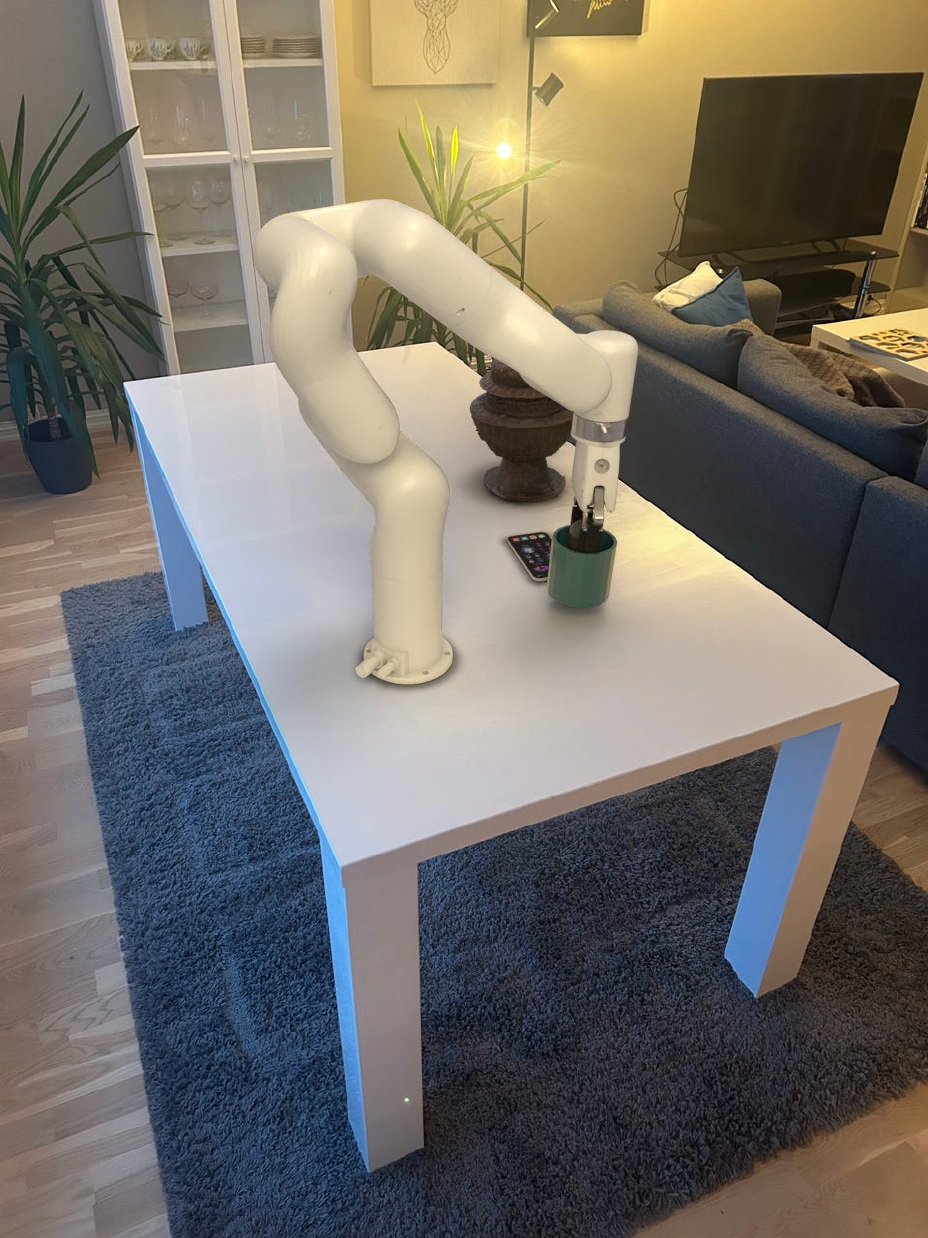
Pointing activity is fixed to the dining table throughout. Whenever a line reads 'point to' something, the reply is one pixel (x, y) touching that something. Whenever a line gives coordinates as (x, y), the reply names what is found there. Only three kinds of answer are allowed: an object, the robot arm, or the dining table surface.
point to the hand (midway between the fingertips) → (584, 541)
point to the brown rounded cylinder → (574, 534)
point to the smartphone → (533, 553)
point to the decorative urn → (520, 435)
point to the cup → (580, 571)
